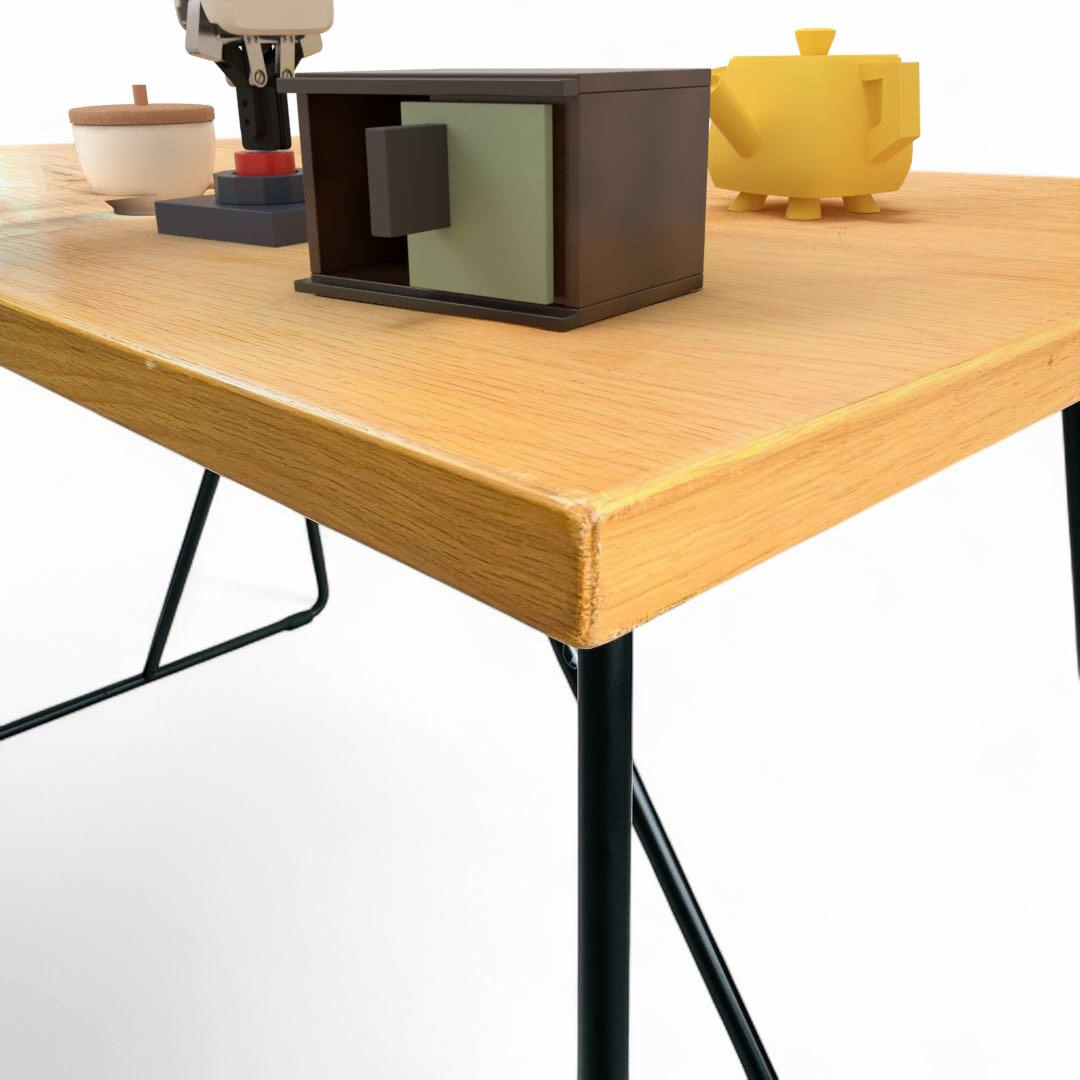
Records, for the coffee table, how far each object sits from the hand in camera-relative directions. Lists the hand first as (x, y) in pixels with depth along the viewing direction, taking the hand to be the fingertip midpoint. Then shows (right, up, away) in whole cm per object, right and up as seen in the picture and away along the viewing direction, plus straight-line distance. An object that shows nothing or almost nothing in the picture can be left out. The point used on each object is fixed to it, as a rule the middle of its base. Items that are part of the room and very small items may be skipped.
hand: (267, 148), depth 82 cm
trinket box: (-12, -1, +14) cm, 18 cm away
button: (0, -2, +1) cm, 2 cm away
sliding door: (+14, -16, -27) cm, 35 cm away
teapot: (+37, -2, +10) cm, 38 cm away
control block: (0, -5, +2) cm, 6 cm away
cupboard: (+17, -13, -19) cm, 29 cm away
